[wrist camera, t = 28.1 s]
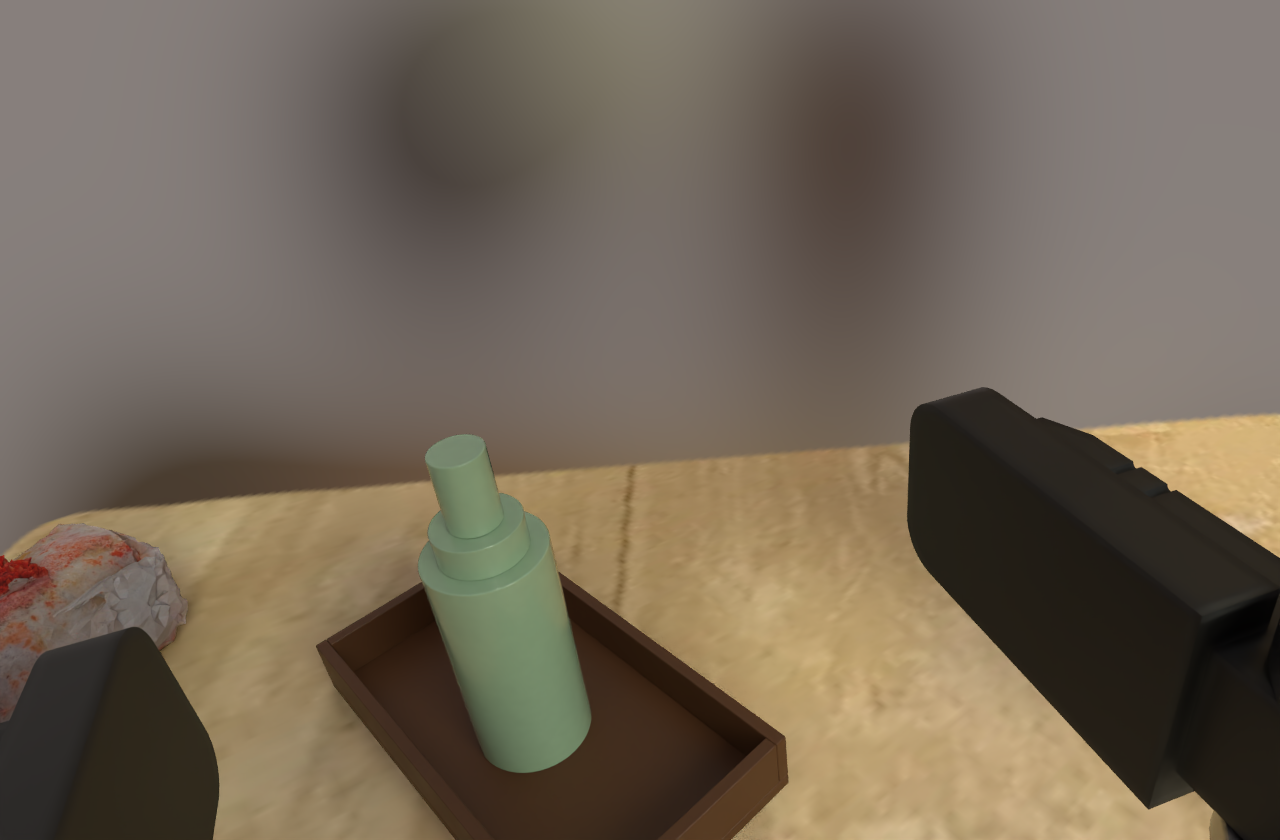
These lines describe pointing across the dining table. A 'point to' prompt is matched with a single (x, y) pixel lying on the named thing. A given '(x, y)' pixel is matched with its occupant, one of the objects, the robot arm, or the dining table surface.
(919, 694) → the dining table surface
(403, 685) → the tray
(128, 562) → the grey rough block
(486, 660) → the sage bottle
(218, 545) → the dining table surface
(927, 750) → the dining table surface
